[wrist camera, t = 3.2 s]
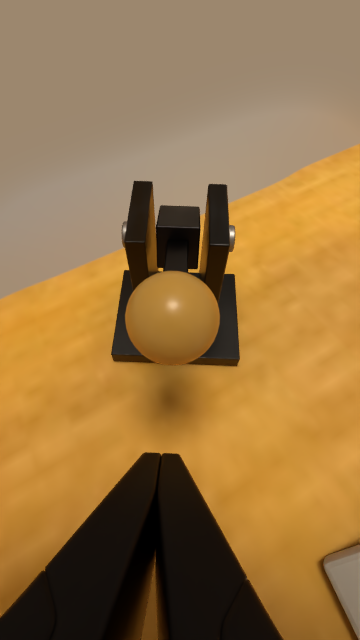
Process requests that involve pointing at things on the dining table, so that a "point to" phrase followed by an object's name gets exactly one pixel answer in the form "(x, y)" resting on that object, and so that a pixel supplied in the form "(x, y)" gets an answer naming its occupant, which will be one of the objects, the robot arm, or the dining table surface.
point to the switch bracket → (212, 268)
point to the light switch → (346, 582)
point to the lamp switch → (174, 295)
